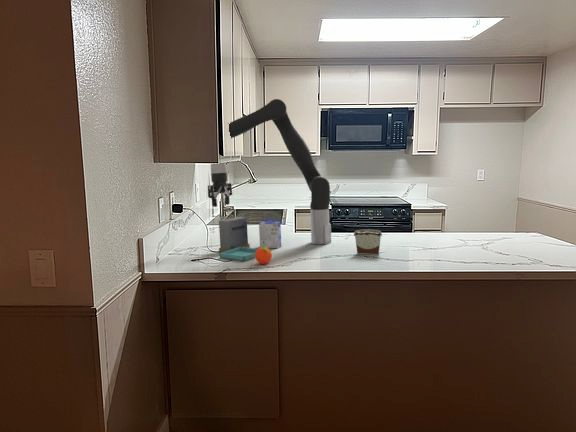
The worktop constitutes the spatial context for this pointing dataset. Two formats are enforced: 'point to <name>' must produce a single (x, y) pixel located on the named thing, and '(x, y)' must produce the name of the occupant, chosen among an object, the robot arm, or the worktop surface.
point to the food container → (368, 241)
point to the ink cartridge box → (270, 233)
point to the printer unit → (233, 233)
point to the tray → (239, 254)
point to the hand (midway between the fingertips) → (221, 205)
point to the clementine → (263, 255)
